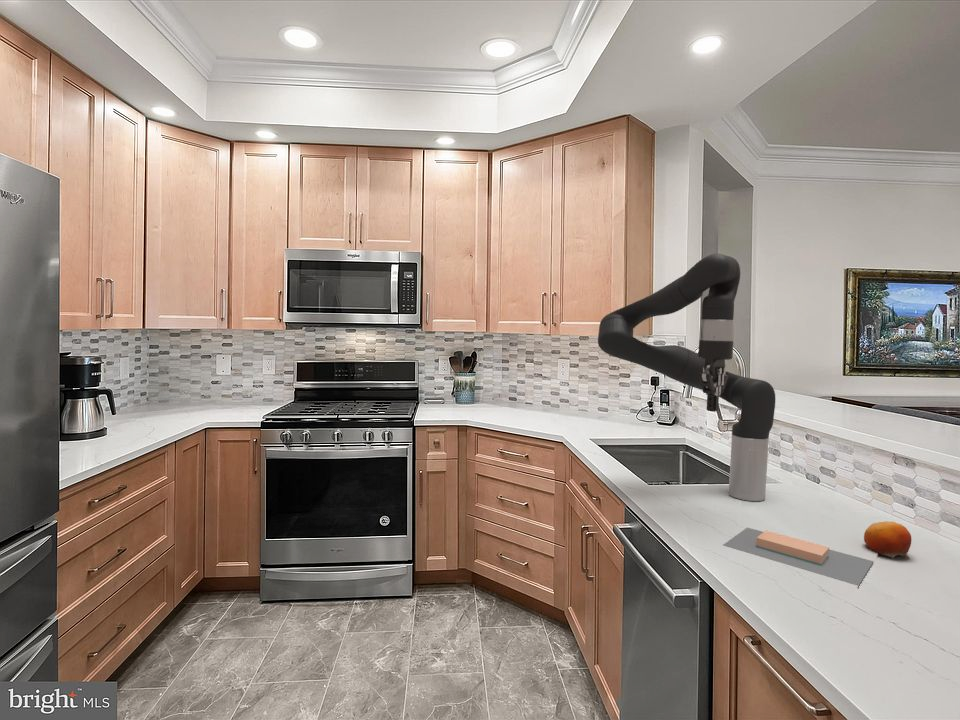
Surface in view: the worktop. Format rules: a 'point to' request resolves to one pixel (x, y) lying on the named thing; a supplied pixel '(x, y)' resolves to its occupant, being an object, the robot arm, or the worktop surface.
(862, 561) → the mat
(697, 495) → the worktop surface
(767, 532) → the tile
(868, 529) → the fruit
